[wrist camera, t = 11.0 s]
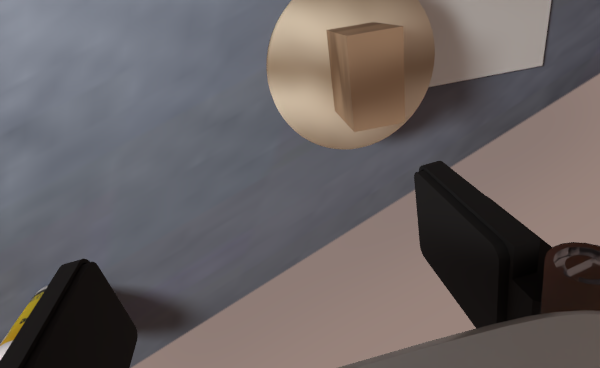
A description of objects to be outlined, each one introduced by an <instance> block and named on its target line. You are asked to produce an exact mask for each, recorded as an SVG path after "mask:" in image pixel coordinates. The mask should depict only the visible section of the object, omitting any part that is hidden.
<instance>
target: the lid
mask: <svg viewBox="0 0 600 368" xmlns="http://www.w3.org/2000/svg"><path fill="white" fill-rule="evenodd" d="M434 59H435V45H434V37H433V31H432V28H431V25H430V21H429V19H428V16H427V14H426V12H425V10H424V8H423V7H422V5H421V4H420V2H419V1H418V0H292V1H291V2H290V3H289V4H288V6H287V7H286V8H285V10H284V11H283V12H282V14H281V16H280V18H279V19H278V21H277V23H276V25H275V28H274V30H273V32H272V35H271V39H270V43H269V46H268V53H267V77H268V84H269V88H270V92H271V95H272V97H273V100H274V102H275V105H276V107H277V108H278V110H279V112H280V114H281V115H282V117H283V118H284V119H285V121H286V122H287V123H288V124H289V125H290V126H291V127H292V128H293V130H294V131H296V132H297V133H298V134H300V135H301V136H302V137H304V138H306V139H307V140H309V141H311V142H313V143H316V144H318V145H320V146H324V147H328V148H334V149H354V148H361V147H364V146H368V145H371V144H374V143H376V142H379V141H381V140H383V139H384V138H386V137H388V136H390V135H391V134H392V133H394V132H395V131H397V130H398V129H399V128H400V127H401V126H402V125H404V124H405V123H406V122H407V120H408V119H409V118H410V117H411V116H412V115H413V114H414V112H415V111H416V109H417V108H418V107H419V105H420V103H421V102H422V100H423V98H424V96H425V94H426V92H427V89H428V87H429V84H430V81H431V77H432V73H433V68H434Z"/></svg>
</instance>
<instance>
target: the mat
mask: <svg viewBox="0 0 600 368" xmlns="http://www.w3.org/2000/svg"><path fill="white" fill-rule="evenodd" d="M418 1H419V2H420V4H421V5H422V7H423V8H424V10H425V12H426V14H427V16H428V19H429V21H430V25H431V28H432V31H433V37H434V45H435V59H434V68H433V73H432V77H431V81H430V84H429V87H433V86H438V85H443V84H448V83H454V82H459V81H464V80H469V79H474V78H480V77H485V76H490V75H495V74H501V73H506V72H511V71H516V70H522V69H527V68H532V67H537V66H542V65H543V57H544V50H545V43H546V36H547V28H548V21H549V14H550V7H551V0H418Z"/></svg>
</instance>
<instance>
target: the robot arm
mask: <svg viewBox="0 0 600 368" xmlns="http://www.w3.org/2000/svg"><path fill="white" fill-rule="evenodd" d="M414 180H415V192H416V203H417V215H418V226H419V239H420V248H421V251H422V254H423V256H424V257H425V259H426V260H427V262H428V263H429V264H430V266H431V267H432V268H433V270H434V271H435V272H436V274H437V275H438V277H439V278H440V279H441V281H442V282H443V283H444V285H445V286H446V287H447V289H448V290H449V291H450V293H451V294H452V296H453V297H454V299H455V300H456V301H457V303H458V304H459V305H460V307H461V308H462V309H463V310H464V312H465V313H466V315H467V316H468V318H469V319H470V320H471V322H472V323H473V324H474V326H475V327H476V329H473V330H469V331H466V332H462V333H458V334H455V335H451V336H447V337H444V338H440V339H436V340H432V341H429V342H425V343H422V344H418V345H415V346H411V347H408V348H404V349H401V350H398V351H394V352H391V353H388V354H384V355H380V356H377V357H373V358H370V359H366V360H363V361H359V362H356V363H353V364H349V365H346V366H342V367H339V368H600V246H598V245H593V244H588V243H576V242H571V243H563V244H560V245H557V246H554V247H551V246H550V245H548V244H547V243H546V242H545V241H543V240H542V239H541V238H540V237H538V236H537V235H536V234H535V233H533V232H532V231H531V230H529V229H528V228H527V227H525V226H524V225H523V224H522V223H521V222H519V221H518V220H517V219H515V218H514V217H513V216H512V215H510V214H509V213H508V212H507V211H505V210H504V209H503V208H501V207H500V206H499V205H498V204H496V203H495V202H494V201H493V200H491V199H490V198H488V197H487V196H485V195H484V194H482V193H481V192H480V191H479V190H477V189H476V188H475V187H474V186H472V185H471V184H470V183H469V182H467V181H466V180H465V179H463V178H462V177H461V176H460V175H458V174H457V173H456V172H454V171H453V170H452V169H451V168H450V167H448V166H447V165H446V164H445V163H443V162H442V161H437V162H433V163H430V164H426V165H423V166H421V167H420V169H419V172H416V173H415V175H414ZM136 342H137V330H136V327H135V325H134V323H133V322H132V320H131V319H130V317H129V315H128V314H127V312H126V311H125V309H124V307H123V306H122V304H121V302H120V301H119V299H118V298H117V296H116V294H115V293H114V291H113V289H112V288H111V286H110V285H109V283H108V281H107V280H106V278H105V276H104V275H103V273H102V272H101V270H100V268H99V267H98V265H97V264H96V263H95V262H89V261H88V260H87V259H81V260H78V261H74V262H70V263H67V264H64V265H62V266H61V267H60V268H59V269H58V271H57V273H56V274H55V276H54V277H53V279H52V280H51V282H50V284H49V285H48V287H47V288H46V290H45V291H44V293H43V294H42V296H41V298H40V299H39V301H38V302H37V304H36V305H35V307H34V309H33V310H32V312H31V313H30V315H29V316H28V318H27V320H26V321H25V323H24V324H23V326H22V327H21V329H20V330H19V332H18V334H17V335H16V337H15V338H14V340H13V341H12V343H11V345H10V346H9V348H8V349H7V351H6V352H5V354H4V356H3V357H2V359H1V360H0V368H129V367H130V363H131V360H132V356H133V353H134V349H135V345H136Z"/></svg>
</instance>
